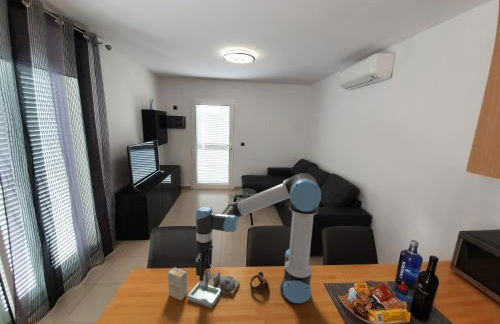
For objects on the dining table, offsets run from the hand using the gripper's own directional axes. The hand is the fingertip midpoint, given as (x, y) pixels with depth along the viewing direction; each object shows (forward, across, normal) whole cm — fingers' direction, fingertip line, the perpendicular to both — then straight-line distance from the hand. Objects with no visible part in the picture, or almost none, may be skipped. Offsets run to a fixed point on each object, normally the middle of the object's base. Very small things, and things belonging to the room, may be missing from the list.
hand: (204, 282), depth 105 cm
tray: (+8, 0, 0) cm, 8 cm away
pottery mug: (+8, -16, +24) cm, 30 cm away
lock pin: (+3, 0, 0) cm, 3 cm away
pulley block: (+8, -10, +4) cm, 13 cm away
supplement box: (+8, +4, -13) cm, 16 cm away
